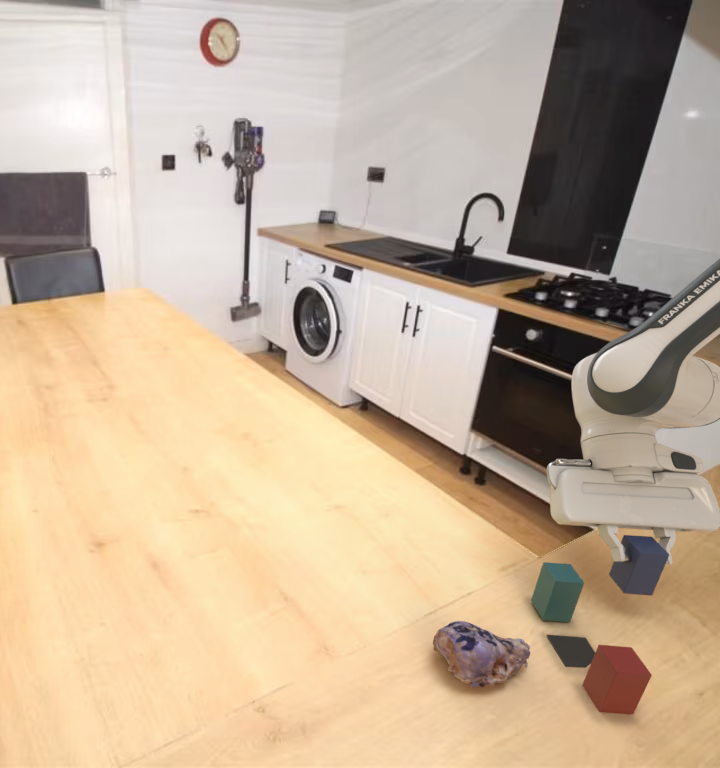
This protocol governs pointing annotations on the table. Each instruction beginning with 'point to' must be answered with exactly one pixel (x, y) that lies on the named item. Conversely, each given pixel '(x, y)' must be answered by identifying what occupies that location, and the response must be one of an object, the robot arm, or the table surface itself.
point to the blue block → (639, 566)
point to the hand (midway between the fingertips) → (643, 563)
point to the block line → (608, 664)
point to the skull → (479, 653)
